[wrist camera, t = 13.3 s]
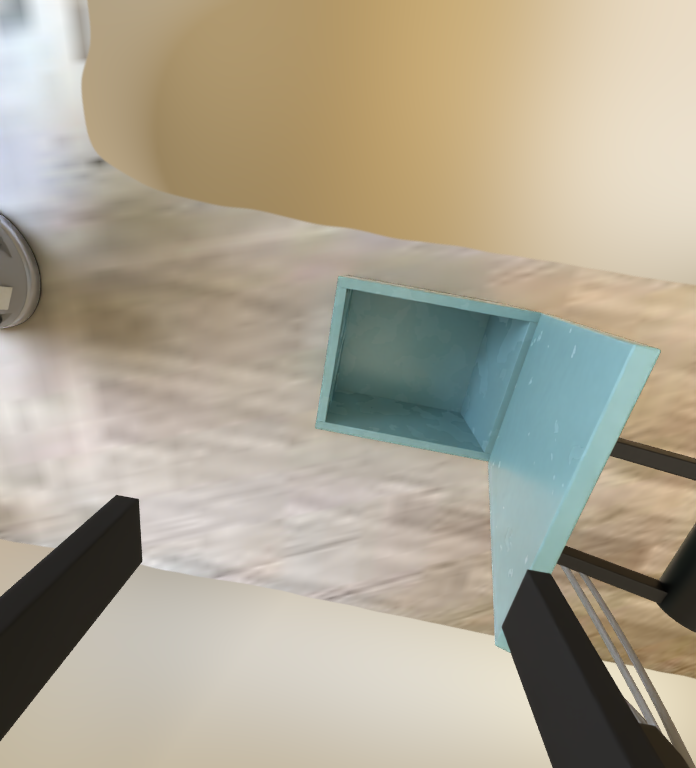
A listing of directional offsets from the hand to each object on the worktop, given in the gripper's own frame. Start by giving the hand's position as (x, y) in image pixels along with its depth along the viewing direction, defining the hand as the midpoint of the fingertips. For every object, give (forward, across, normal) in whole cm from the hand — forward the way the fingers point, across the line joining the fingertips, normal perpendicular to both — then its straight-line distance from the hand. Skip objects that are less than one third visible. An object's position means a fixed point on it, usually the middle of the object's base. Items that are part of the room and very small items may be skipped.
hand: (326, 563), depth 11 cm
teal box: (+32, +6, +1) cm, 33 cm away
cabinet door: (+12, +12, +1) cm, 17 cm away
